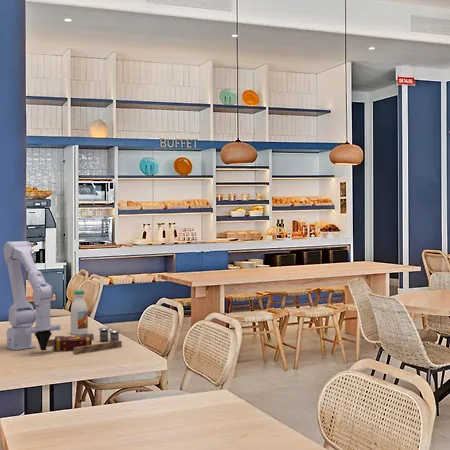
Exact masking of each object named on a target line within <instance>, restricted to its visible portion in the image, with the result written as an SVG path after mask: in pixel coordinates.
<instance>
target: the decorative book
mask: <svg viewBox="0 0 450 450" xmlns="http://www.w3.org/2000/svg"><path fill="white" fill-rule="evenodd" d="M91 338H92V335H85V334H83V335H82V336H78V335H73V334H70V335H68V336H67V335H58V336H57V335H55V336H54V339H55V343H54V344H55V345H52V346H51V347H52V348H54V352H68V351H73V348H74V347H81V346H87V345H93V344H92V341H93V340H92V339H91Z"/></svg>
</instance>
